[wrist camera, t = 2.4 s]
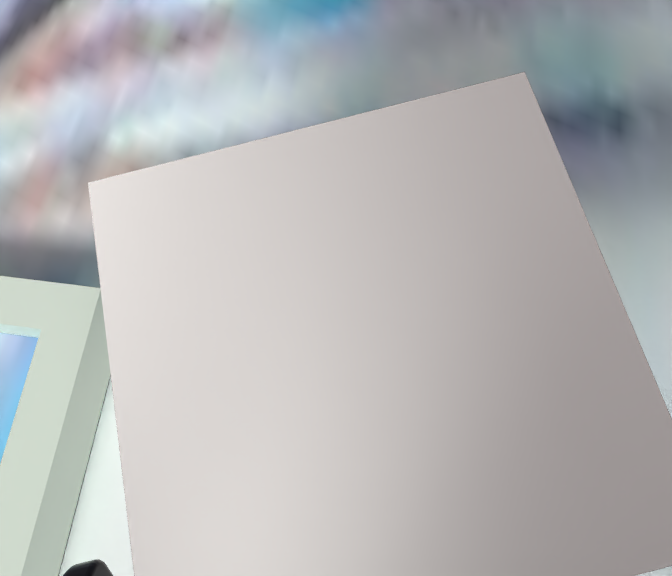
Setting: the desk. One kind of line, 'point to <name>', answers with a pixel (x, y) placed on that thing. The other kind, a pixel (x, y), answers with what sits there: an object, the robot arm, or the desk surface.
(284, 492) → the white upright block
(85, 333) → the socket board
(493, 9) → the desk surface
